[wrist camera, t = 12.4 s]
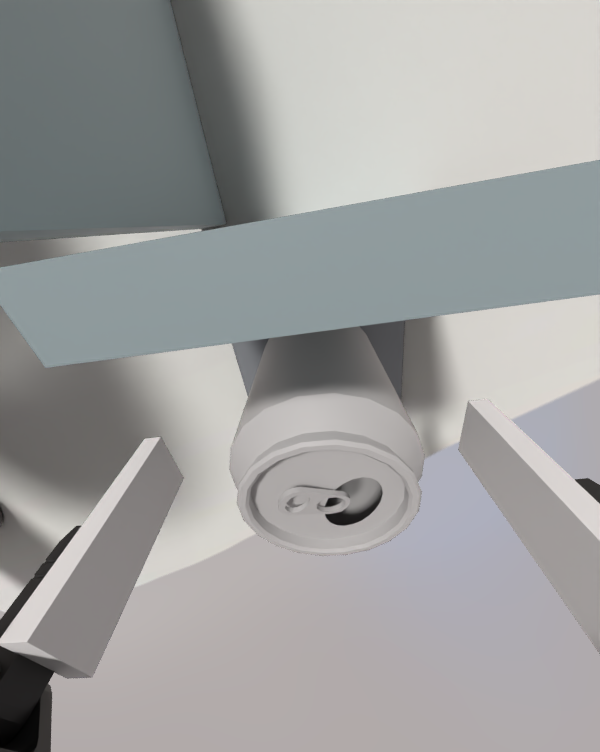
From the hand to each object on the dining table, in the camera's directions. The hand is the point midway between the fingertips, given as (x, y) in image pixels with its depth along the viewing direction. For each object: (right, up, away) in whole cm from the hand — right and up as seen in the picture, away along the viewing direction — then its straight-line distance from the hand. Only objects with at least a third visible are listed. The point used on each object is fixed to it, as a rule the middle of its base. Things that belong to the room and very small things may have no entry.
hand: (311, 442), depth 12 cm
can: (+1, +4, +8) cm, 9 cm away
